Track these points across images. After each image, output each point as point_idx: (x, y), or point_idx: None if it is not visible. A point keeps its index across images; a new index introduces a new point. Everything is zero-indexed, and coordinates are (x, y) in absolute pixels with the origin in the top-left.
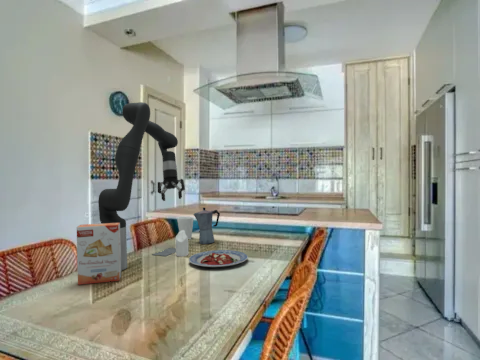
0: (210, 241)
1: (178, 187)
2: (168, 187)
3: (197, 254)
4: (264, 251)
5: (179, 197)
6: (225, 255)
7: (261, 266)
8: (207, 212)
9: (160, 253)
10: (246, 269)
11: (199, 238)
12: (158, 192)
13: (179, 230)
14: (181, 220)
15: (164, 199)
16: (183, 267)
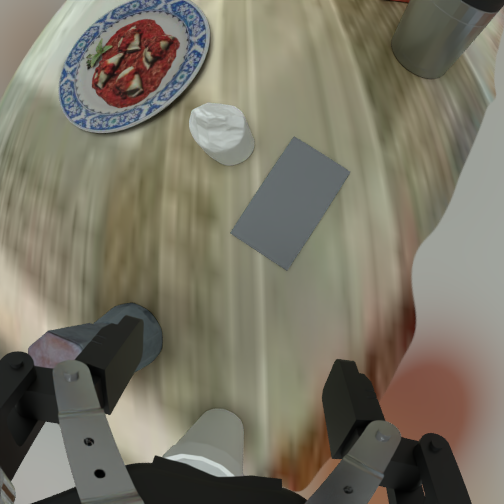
0: (116, 306)
1: (62, 407)
2: (265, 491)
3: (176, 86)
4: (14, 154)
5: (130, 316)
6: (105, 61)
7: (66, 34)
8: (42, 343)
9: (318, 178)
10: (97, 14)
11: (152, 335)
12: (434, 435)
13: (241, 446)
14: (218, 456)
15: (333, 377)
16: (228, 20)
